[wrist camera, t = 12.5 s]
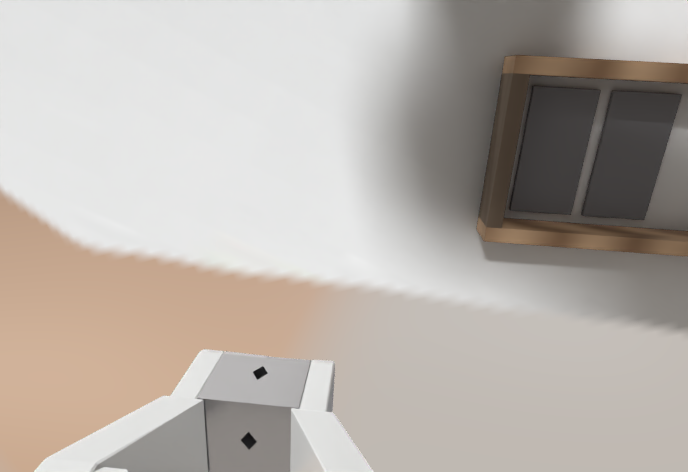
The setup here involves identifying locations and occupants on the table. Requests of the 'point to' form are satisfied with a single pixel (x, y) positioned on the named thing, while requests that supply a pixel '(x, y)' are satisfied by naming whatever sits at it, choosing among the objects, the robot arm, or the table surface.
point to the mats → (611, 159)
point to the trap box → (504, 151)
